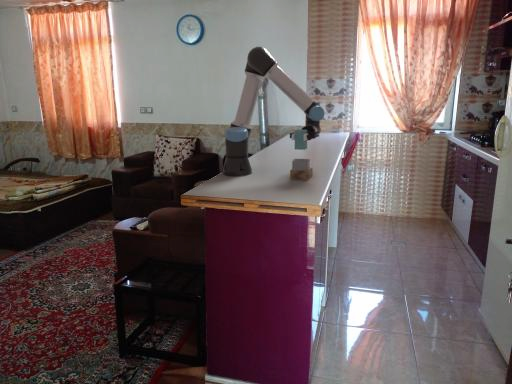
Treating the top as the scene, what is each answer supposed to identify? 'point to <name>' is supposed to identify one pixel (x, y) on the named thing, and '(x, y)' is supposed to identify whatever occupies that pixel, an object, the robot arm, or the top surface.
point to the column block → (300, 140)
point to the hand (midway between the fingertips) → (298, 137)
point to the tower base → (301, 174)
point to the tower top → (301, 164)
